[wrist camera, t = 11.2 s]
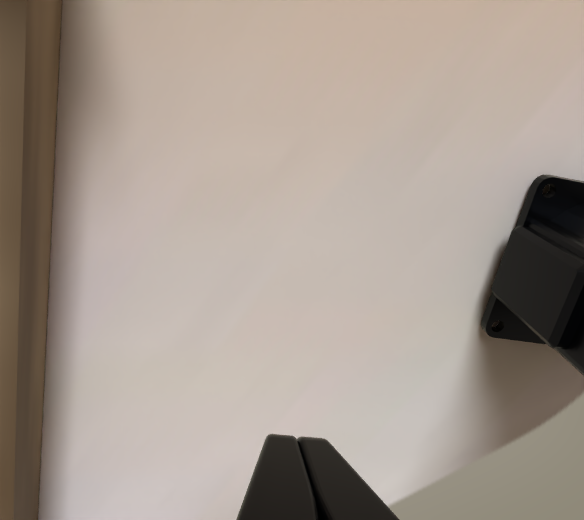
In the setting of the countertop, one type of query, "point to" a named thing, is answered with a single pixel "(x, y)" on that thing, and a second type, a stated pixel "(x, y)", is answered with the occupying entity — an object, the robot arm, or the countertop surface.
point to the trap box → (25, 238)
